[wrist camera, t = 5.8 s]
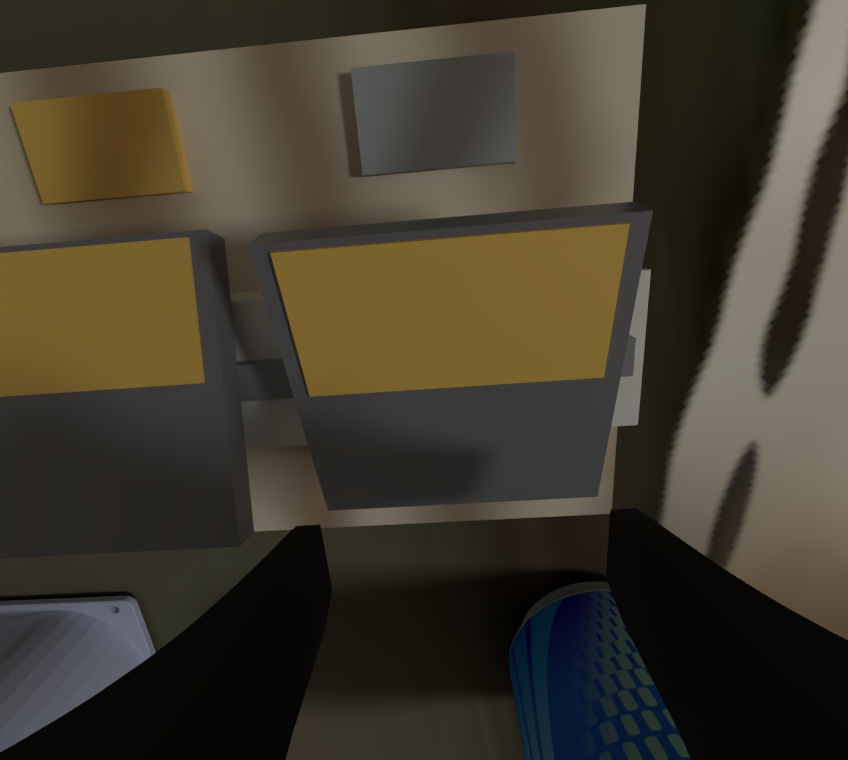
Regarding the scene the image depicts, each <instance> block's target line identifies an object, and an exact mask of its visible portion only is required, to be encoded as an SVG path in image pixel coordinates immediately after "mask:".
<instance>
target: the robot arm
mask: <svg viewBox="0 0 848 760" xmlns="http://www.w3.org/2000/svg"><path fill="white" fill-rule="evenodd" d="M606 579H607V581H608V584H609V587H610V590H611V593H612V595H613V598H614V601H615V603H616V606H617V609H618V611H619V614H620V616H621V619H622V621H623V623H624V625H625V627H626V629H627V631H628V633H629V635H630V637H631V639H632V641H633V643H634V645H635V647H636V649H637V651H638V653H639V655H640V657H641V659H642V661H643V663H644V665H645V667H646V669H647V671H648V672H649V674H650V676H651V678H652V680H653V682H654V684H655V686H656V688H657V690H658V692H659V694H660V696H661V698H662V700H663V702H664V704H665V706H666V708H667V710H668V711H669V713H670V715H671V717H672V719H673V721H674V723H675V726H676V728H677V730H678V732H679V734H680V736H681V738H682V740H683V743H684V745H685V747H686V749H687V752H688V754H689V757H690V759H691V760H848V640H846V639H844V638H842V637H840V636H838V635H836V634H834V633H832V632H830V631H828V630H827V629H825V628H823V627H821V626H819V625H818V624H816V623H814V622H812V621H810V620H808V619H806V618H805V617H803V616H801V615H799V614H797V613H796V612H794V611H792V610H790V609H788V608H787V607H785V606H783V605H781V604H780V603H778V602H776V601H775V600H773V599H771V598H770V597H768V596H766V595H765V594H763V593H761V592H760V591H758V590H756V589H755V588H753V587H752V586H750V585H749V584H747V583H745V582H744V581H742V580H740V579H739V578H737V577H736V576H734V575H733V574H731V573H730V572H728V571H726V570H725V569H723V568H722V567H720V566H719V565H717V564H716V563H714V562H713V561H711V560H710V559H708V558H707V557H706V556H704V555H703V554H701V553H700V552H698V551H697V550H695V549H694V548H692V547H691V546H690V545H688V544H686V543H685V542H684V541H682V540H681V539H680V538H678V537H677V536H675V535H674V534H673V533H671V532H670V531H668V530H667V529H665V528H664V527H663V526H661V525H660V524H658V523H657V522H656V521H654V520H653V519H651V518H650V517H648V516H647V515H645V514H644V513H643V512H641V511H639V510H638V509H636V508H633V509H614V510H610V525H609V540H608V555H607V570H606ZM331 592H332V586H331V581H330V575H329V570H328V564H327V559H326V554H325V548H324V543H323V537H322V532H321V526H320V525H303V526H296V527H295V528H294V529H293V530H292V531H291V532H290V533H289V534H288V535H286V536H285V537H284V538H283V539H282V540H281V541H280V543H279V544H278V545H277V546H276V547H275V548H274V549H273V550H272V551H271V552H270V553H269V554H268V555H267V556H266V557H265V558H264V559H263V560H262V561H261V562H259V563H258V564H257V565H256V566H255V567H254V568H253V569H252V570H251V571H250V572H249V573H248V574H247V575H246V576H245V577H244V578H243V579H242V580H241V581H240V582H239V583H238V584H237V585H236V586H235V587H233V588H232V589H231V590H230V591H229V592H228V593H227V594H226V595H225V596H223V597H222V598H221V599H220V600H219V601H218V602H217V603H216V604H215V605H213V606H212V607H211V608H210V609H209V610H208V611H207V612H206V613H204V614H203V615H202V616H201V617H200V618H199V619H198V620H196V621H195V622H194V623H193V624H192V625H190V626H189V627H188V628H187V629H185V630H184V631H183V632H182V633H180V634H179V635H178V636H177V637H175V638H174V639H173V640H171V641H170V642H169V643H168V644H166V645H165V646H164V647H162V648H161V649H160V650H159V651H157V652H155V649H154V646H153V643H152V641H151V638H150V635H149V632H148V630H147V627H146V624H145V622H144V619H143V616H142V613H141V611H140V608H139V605H138V603H137V601H136V599H134V598H133V597H131V596H106V597H83V598H59V599H36V600H13V601H0V760H285V759H286V755H287V752H288V748H289V744H290V741H291V737H292V733H293V730H294V727H295V724H296V720H297V717H298V714H299V711H300V708H301V704H302V701H303V698H304V695H305V692H306V688H307V685H308V682H309V679H310V676H311V673H312V669H313V666H314V663H315V660H316V656H317V653H318V650H319V647H320V643H321V640H322V637H323V633H324V630H325V625H326V620H327V615H328V609H329V604H330V598H331Z"/></svg>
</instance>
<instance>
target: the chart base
mask: <svg viewBox="0 0 848 760" xmlns="http://www.w3.org/2000/svg"><path fill="white" fill-rule="evenodd" d="M645 11H646V4H644V5H634V6H625V7H615V8H606V9H597V10H587V11H578V12H569V13H559V14H550V15H541V16H531V17H522V18H512V19H503V20H494V21H484V22H475V23H466V24H456V25H447V26H438V27H428V28H419V29H409V30H400V31H391V32H381V33H372V34H363V35H353V36H344V37H335V38H325V39H316V40H306V41H297V42H288V43H278V44H269V45H260V46H250V47H241V48H232V49H222V50H213V51H203V52H194V53H185V54H175V55H166V56H157V57H147V58H138V59H129V60H119V61H110V62H100V63H91V64H82V65H72V66H63V67H54V68H44V69H35V70H26V71H16V72H7V73H0V247H7V246H19V245H30V244H42V243H54V242H65V241H77V240H89V239H100V238H112V237H124V236H135V235H147V234H159V233H170V232H182V231H194V230H205V229H206V230H208V231H210V232H212V233H215V234H217V235H219V236H221V237H223V238H224V239H225V249H226V259H227V268H228V278H229V288H230V293H240V292H253V291H262V290H261V287H260V283H259V280H258V277H257V273H256V270H255V267H254V263H253V260H252V257H251V253H250V250H249V247H248V244H249V243H250V242H252V241H253V240H254V239H255V238H256V237H258V236H259V235H260V234H261V233H268V232H280V231H292V230H303V229H315V228H327V227H339V226H350V225H362V224H374V223H386V222H398V221H409V220H421V219H433V218H445V217H457V216H468V215H480V214H492V213H504V212H516V211H527V210H539V209H551V208H563V207H575V206H586V205H598V204H610V203H622V202H633V188H634V173H635V158H636V144H637V129H638V114H639V100H640V85H641V70H642V55H643V41H644V26H645ZM616 438H617V426H611V430H610V435H609V440H608V445H607V450H606V456H605V461H604V466H603V471H602V476H601V481H600V487H599V492H598V497H585V498H566V499H546V500H527V501H508V502H489V503H469V504H450V505H431V506H411V507H392V508H373V509H353V510H334V511H328V509H327V506H326V503H325V499H324V496H323V493H322V489H321V486H320V483H319V479H318V476H317V473H316V469H315V466H314V463H313V459H312V456H311V453H310V449H309V446H308V445H293V446H276V447H259V448H246V456H247V466H248V476H249V486H250V496H251V506H252V516H253V526H254V531H272V530H292V529H294V528H295V527H296V526H303V525H320V526H321V528H333V527H353V526H373V525H393V524H413V523H433V522H453V521H473V520H493V519H513V518H533V517H553V516H573V515H593V514H610V510H612V497H613V482H614V467H615V452H616Z"/></svg>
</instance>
